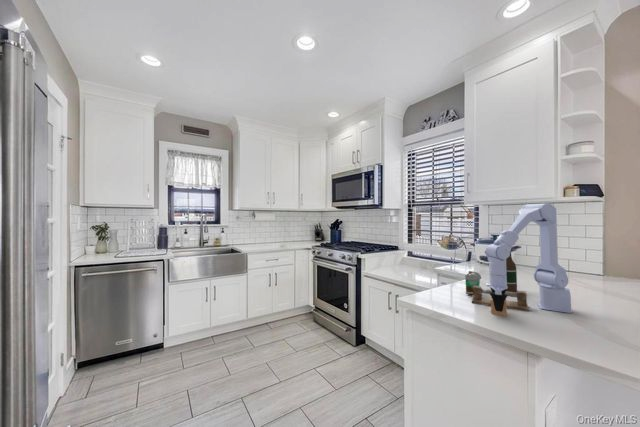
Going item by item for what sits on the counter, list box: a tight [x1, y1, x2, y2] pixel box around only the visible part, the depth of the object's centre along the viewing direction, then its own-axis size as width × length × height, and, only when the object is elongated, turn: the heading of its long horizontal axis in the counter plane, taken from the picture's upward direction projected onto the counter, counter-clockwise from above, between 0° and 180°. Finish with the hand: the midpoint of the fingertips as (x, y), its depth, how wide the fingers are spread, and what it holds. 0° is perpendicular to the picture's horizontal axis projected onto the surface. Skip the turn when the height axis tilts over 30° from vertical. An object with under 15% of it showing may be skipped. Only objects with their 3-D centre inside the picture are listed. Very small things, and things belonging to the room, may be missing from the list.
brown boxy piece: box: [471, 285, 530, 312], centre depth 113 cm, size 20×8×6 cm, turn 55°
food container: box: [464, 270, 482, 296], centre depth 129 cm, size 12×6×10 cm, turn 143°
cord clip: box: [490, 296, 508, 317], centre depth 103 cm, size 5×5×6 cm
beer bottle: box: [506, 250, 518, 293], centre depth 133 cm, size 8×8×24 cm
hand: (498, 308), depth 103 cm, fingers open, 7 cm apart
